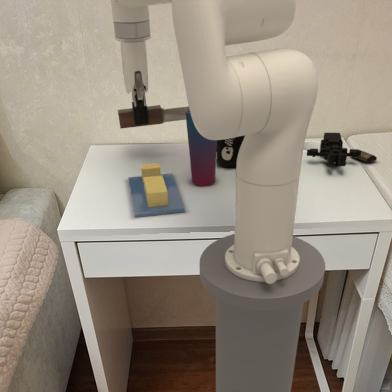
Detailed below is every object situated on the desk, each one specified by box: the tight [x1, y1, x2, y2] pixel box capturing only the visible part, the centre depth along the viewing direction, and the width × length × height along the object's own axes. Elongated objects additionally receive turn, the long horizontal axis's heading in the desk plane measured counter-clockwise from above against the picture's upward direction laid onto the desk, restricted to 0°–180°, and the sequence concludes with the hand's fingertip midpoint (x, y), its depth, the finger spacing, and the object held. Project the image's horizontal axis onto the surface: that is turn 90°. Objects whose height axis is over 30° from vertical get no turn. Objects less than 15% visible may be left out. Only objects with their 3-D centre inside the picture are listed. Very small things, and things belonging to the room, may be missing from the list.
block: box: [354, 148, 378, 162], centre depth 116 cm, size 4×6×2 cm, turn 30°
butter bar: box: [143, 175, 168, 207], centre depth 101 cm, size 8×4×3 cm, turn 10°
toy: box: [306, 132, 362, 167], centre depth 114 cm, size 12×5×15 cm
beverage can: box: [216, 136, 244, 169], centre depth 113 cm, size 7×7×12 cm
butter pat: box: [140, 162, 162, 182], centre depth 109 cm, size 2×4×3 cm, turn 100°
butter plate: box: [127, 172, 186, 218], centre depth 105 cm, size 18×10×1 cm, turn 10°
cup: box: [185, 106, 217, 187], centre depth 105 cm, size 7×7×15 cm
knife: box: [117, 104, 189, 130], centre depth 117 cm, size 2×19×4 cm, turn 100°
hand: (141, 121), depth 117 cm, fingers closed on knife, 2 cm apart
